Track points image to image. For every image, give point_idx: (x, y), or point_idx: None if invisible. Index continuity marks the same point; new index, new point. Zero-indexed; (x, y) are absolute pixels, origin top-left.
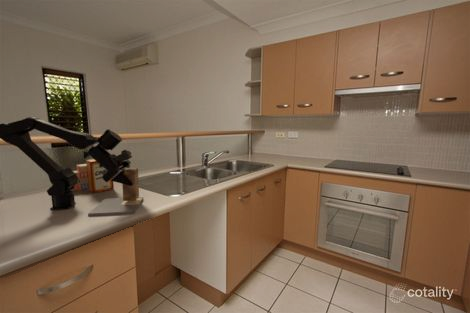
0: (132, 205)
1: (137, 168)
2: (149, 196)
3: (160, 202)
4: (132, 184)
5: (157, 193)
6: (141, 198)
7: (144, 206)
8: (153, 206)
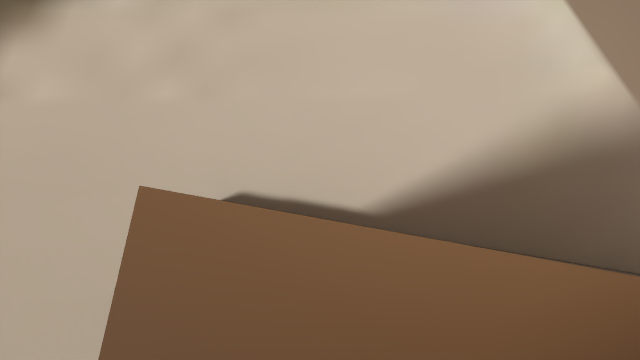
0: None
1: (247, 207)
2: (116, 132)
3: (378, 8)
4: None
5: (25, 35)
6: None
7: (461, 178)
8: (486, 83)
